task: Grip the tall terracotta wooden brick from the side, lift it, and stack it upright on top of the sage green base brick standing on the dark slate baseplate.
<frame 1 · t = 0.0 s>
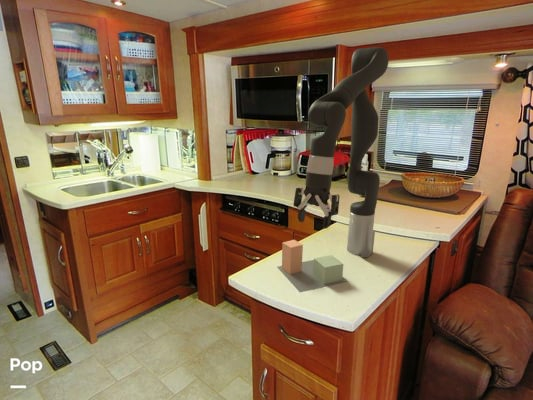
hand: (313, 224, 104), 22 cm above the table, tool pointing down, fingers open, 8 cm apart
bottom brick: (327, 277, 116), resting on baseplate
baseplate: (311, 276, 118), on the table
top brick: (291, 269, 120), point 1 cm above the table, touching baseplate
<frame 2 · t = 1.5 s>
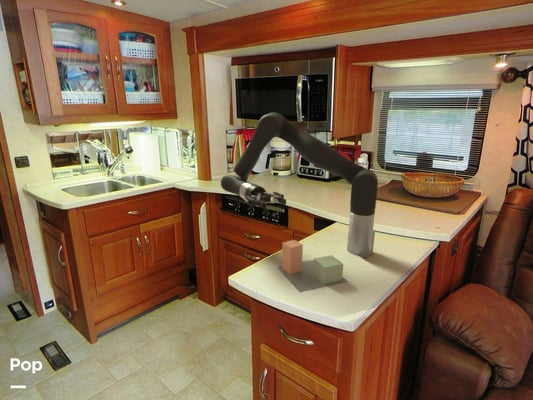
hand: (275, 204, 123), 22 cm above the table, tool horizontal, fingers open, 8 cm apart
nothing on the table moved.
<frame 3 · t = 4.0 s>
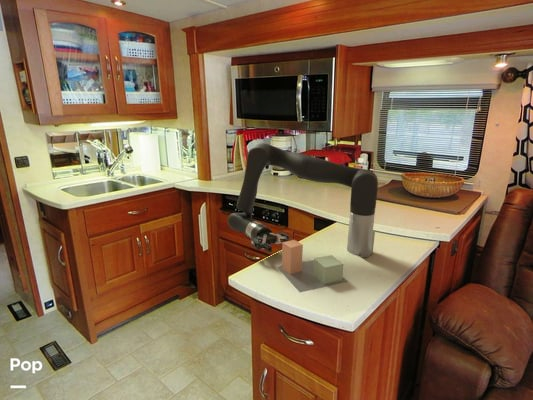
hand: (281, 247, 124), 7 cm above the table, tool horizontal, fingers open, 8 cm apart
nothing on the table moved.
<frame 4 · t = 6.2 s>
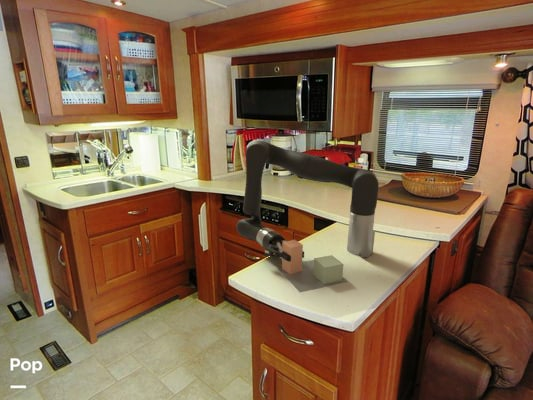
hand: (296, 257, 117), 7 cm above the table, tool horizontal, fingers closed on top brick, 5 cm apart
top brick: (291, 269, 120), point 1 cm above the table, touching baseplate, gripper
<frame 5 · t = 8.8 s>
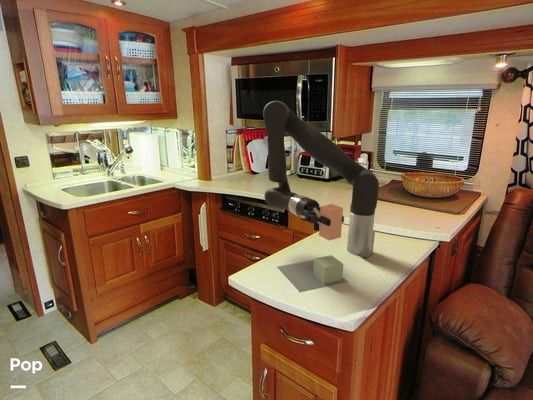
hand: (336, 221, 108), 22 cm above the table, tool horizontal, fingers closed on top brick, 5 cm apart
top brick: (329, 236, 112), point 16 cm above the table, touching gripper
when the fingers open (14 cm above the table, at t = 11.4 s): top brick drops 1 cm, resting on bottom brick.
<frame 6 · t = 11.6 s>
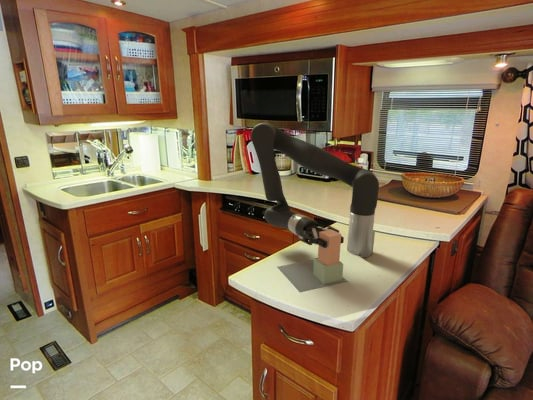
hand: (334, 242, 110), 14 cm above the table, tool horizontal, fingers open, 6 cm apart
top brick: (328, 260, 114), point 7 cm above the table, touching bottom brick
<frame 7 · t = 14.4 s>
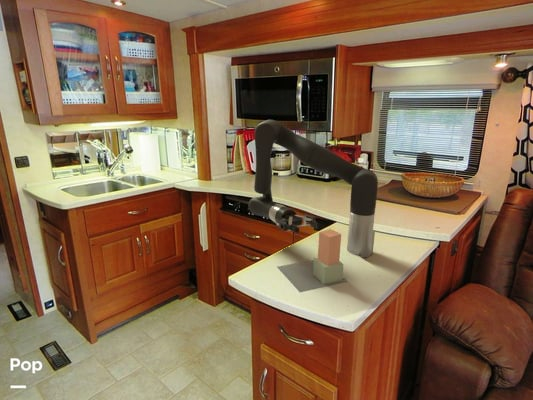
hand: (308, 228, 121), 15 cm above the table, tool horizontal, fingers open, 8 cm apart
nothing on the table moved.
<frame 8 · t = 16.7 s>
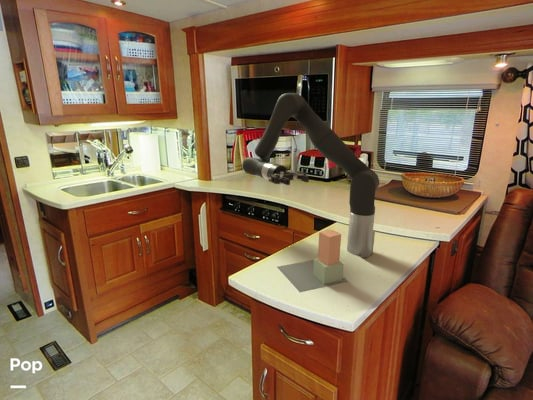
hand: (298, 181, 125), 30 cm above the table, tool horizontal, fingers open, 8 cm apart
nothing on the table moved.
at the end: top brick 0.1 cm from the bottom brick (horizontally); top brick point 7.0 cm above the table; top brick tilted 0° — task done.
